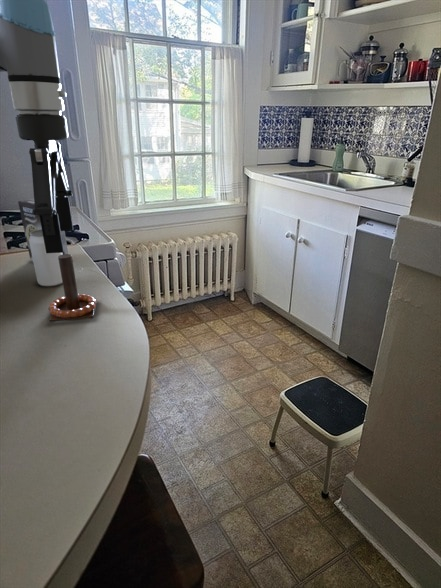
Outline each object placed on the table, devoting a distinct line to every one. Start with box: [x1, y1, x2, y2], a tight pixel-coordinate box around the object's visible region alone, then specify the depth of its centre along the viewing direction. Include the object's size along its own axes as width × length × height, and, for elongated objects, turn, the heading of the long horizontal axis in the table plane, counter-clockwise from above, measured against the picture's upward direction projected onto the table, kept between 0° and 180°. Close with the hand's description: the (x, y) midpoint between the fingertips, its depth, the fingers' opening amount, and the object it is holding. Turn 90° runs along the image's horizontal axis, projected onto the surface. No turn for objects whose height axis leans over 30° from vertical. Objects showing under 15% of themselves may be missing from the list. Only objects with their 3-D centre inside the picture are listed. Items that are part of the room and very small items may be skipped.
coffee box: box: [17, 198, 69, 263], centre depth 102 cm, size 9×6×16 cm
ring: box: [48, 293, 97, 318], centre depth 77 cm, size 9×9×1 cm
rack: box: [48, 253, 98, 323], centre depth 76 cm, size 8×8×12 cm
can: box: [29, 229, 63, 287], centre depth 90 cm, size 6×6×12 cm
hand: (61, 240), depth 72 cm, fingers open, 13 cm apart
